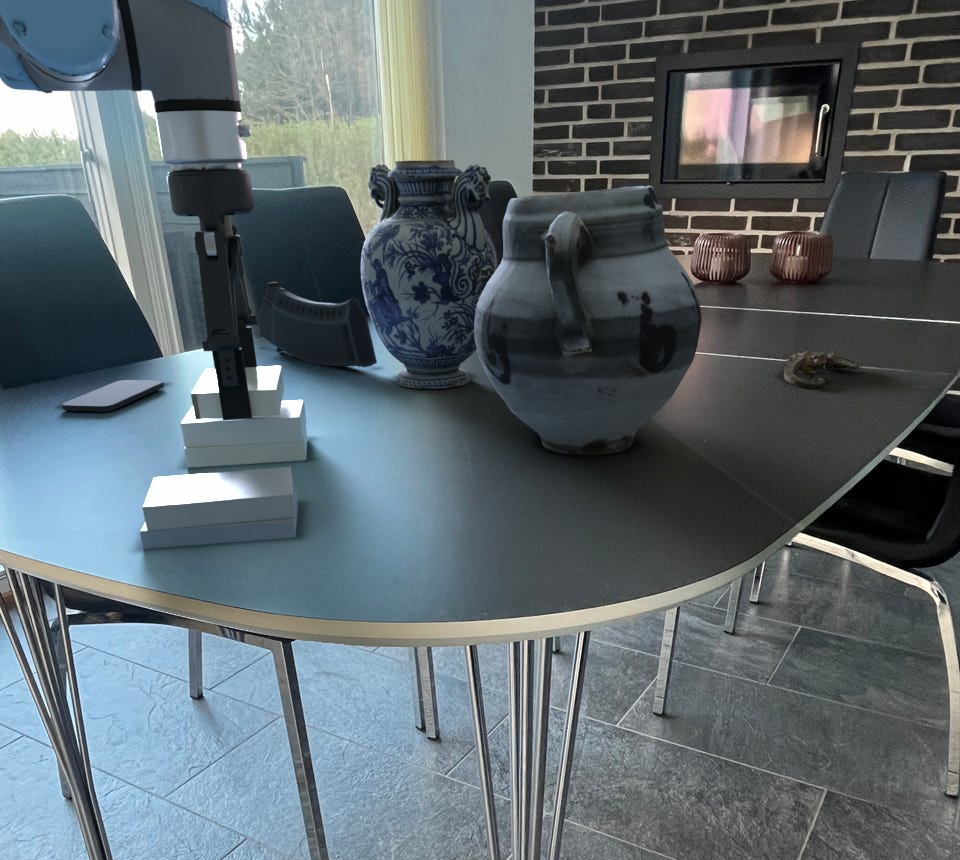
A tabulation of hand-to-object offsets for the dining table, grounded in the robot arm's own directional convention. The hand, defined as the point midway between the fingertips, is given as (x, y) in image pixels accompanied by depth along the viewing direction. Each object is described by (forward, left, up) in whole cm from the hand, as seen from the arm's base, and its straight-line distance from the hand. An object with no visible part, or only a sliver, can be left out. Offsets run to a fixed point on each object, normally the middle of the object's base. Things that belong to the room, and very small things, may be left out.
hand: (243, 403), depth 90 cm
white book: (0, 0, 0) cm, 0 cm away
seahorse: (+77, +23, -6) cm, 81 cm away
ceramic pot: (+35, -4, -6) cm, 36 cm away
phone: (-21, +33, -6) cm, 39 cm away
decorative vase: (+23, +33, -6) cm, 41 cm away
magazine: (+6, +54, -6) cm, 55 cm away
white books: (0, 0, -6) cm, 6 cm away
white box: (-1, -22, -6) cm, 23 cm away
